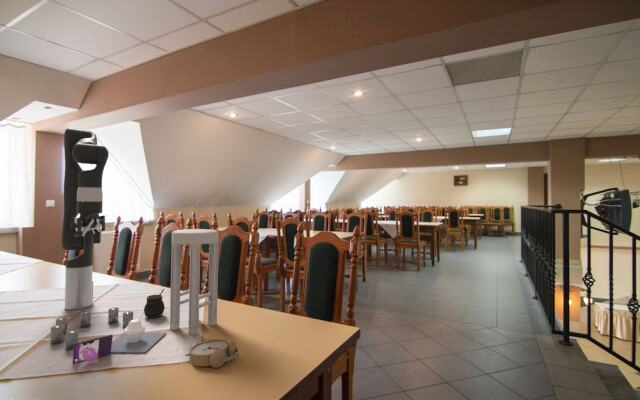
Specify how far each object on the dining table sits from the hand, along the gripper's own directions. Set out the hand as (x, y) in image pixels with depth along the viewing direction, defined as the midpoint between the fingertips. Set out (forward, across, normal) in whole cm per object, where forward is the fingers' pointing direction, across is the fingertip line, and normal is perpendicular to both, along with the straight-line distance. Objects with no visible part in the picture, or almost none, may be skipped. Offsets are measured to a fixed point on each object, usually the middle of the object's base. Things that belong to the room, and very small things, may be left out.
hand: (89, 245), depth 116 cm
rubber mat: (+29, +14, +24) cm, 40 cm away
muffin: (+29, +13, +23) cm, 39 cm away
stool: (+29, 0, +38) cm, 48 cm away
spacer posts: (+29, +6, +5) cm, 30 cm away
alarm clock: (+29, +24, +52) cm, 64 cm away
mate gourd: (+30, -10, +19) cm, 37 cm away
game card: (+29, +25, +18) cm, 43 cm away
